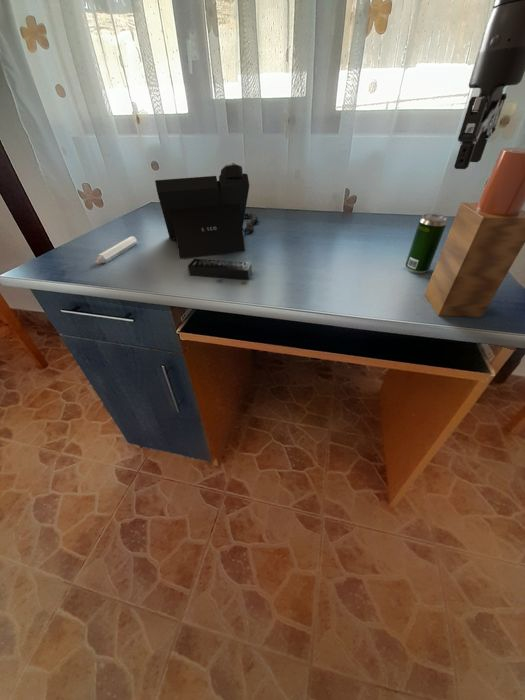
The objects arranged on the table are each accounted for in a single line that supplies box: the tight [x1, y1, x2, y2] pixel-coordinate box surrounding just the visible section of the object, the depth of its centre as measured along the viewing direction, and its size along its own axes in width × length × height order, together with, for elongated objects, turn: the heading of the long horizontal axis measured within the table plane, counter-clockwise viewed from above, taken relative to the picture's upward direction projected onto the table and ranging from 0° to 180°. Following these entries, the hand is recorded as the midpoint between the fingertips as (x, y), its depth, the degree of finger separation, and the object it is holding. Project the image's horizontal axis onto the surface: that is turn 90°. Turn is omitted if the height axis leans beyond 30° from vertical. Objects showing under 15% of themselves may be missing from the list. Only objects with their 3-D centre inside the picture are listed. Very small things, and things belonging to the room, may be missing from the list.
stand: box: [424, 202, 525, 318], centre depth 54 cm, size 8×8×18 cm
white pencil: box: [94, 235, 138, 265], centre depth 79 cm, size 3×2×16 cm
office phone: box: [154, 162, 259, 260], centre depth 83 cm, size 29×28×20 cm
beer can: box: [404, 213, 448, 275], centre depth 68 cm, size 5×5×12 cm
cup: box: [476, 147, 525, 216], centre depth 45 cm, size 6×6×8 cm
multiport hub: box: [187, 258, 253, 281], centre depth 70 cm, size 4×14×2 cm, turn 80°
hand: (467, 165), depth 58 cm, fingers open, 8 cm apart
